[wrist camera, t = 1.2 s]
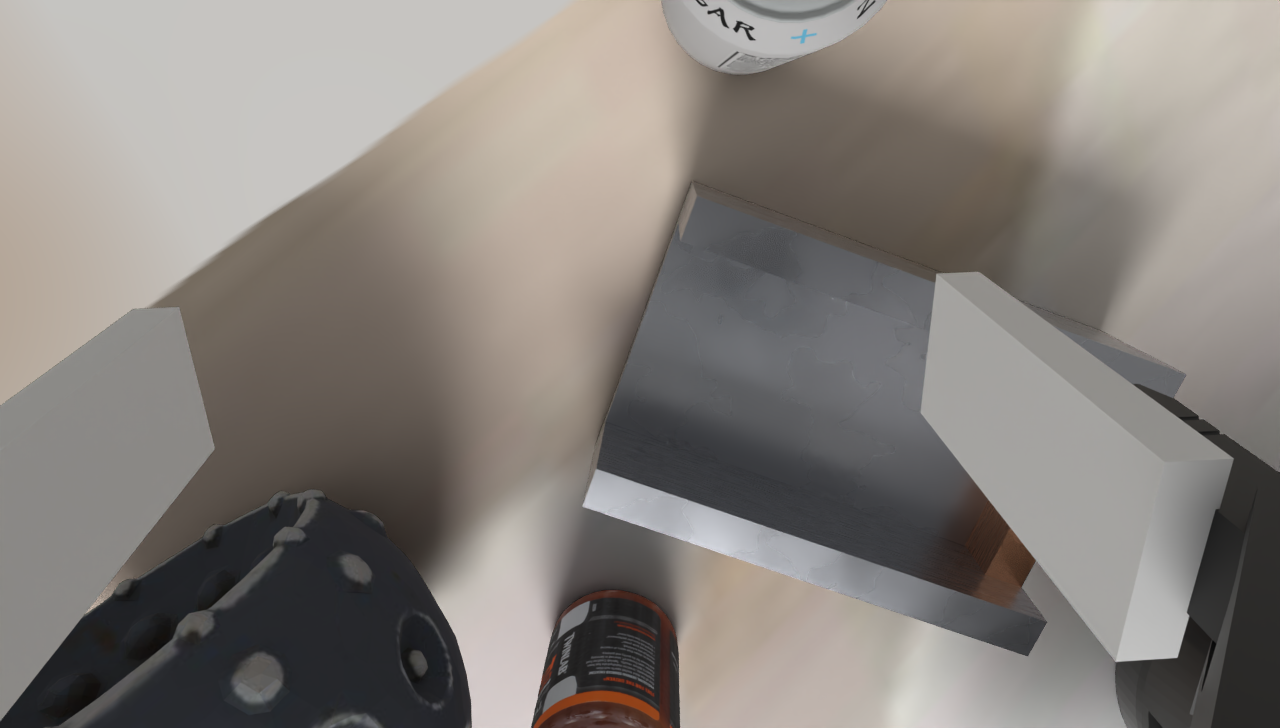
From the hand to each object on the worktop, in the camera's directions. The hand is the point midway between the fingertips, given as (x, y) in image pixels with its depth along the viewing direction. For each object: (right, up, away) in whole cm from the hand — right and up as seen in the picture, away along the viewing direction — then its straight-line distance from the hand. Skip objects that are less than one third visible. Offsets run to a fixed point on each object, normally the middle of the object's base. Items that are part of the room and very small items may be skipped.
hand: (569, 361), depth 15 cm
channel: (+10, -1, +22) cm, 24 cm away
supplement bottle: (0, -13, +26) cm, 29 cm away
